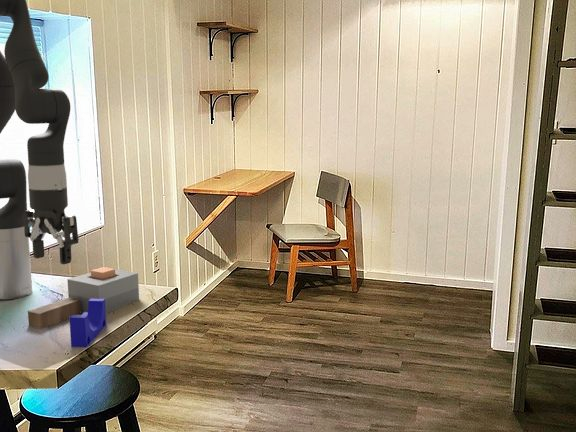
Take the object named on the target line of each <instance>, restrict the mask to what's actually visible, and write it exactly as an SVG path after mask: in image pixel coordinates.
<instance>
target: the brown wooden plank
mask: <svg viewBox="0 0 576 432" xmlns="http://www.w3.org/2000/svg"><path fill="white" fill-rule="evenodd" d="M81 313H82V312H81V309H80V300H78V299H73V298H69V297H67V298H64V299H60V300H57V301H55V302H51V303H48V304H45V305H43V306H40V307H37V308H34V309H31V310H28V311H27V319H28V327H32V328H35V329H41V330H42V329H43V328H48V326H49V327H50V326H51V325H54V324H57V323H60V322H62V321H65V320H68V319H69V317H71V316H72V315H82V314H81Z"/></svg>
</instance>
